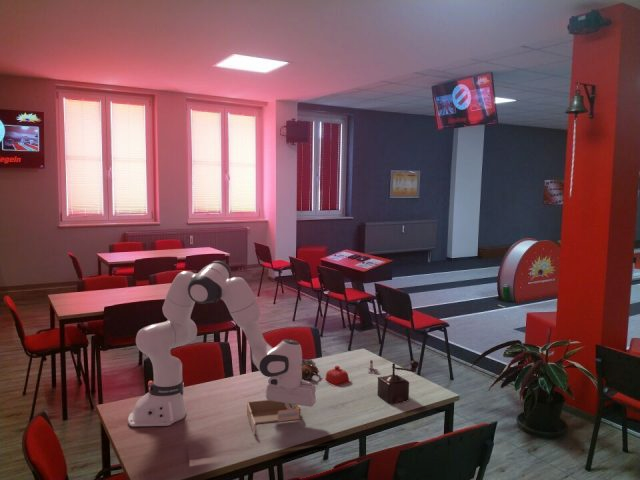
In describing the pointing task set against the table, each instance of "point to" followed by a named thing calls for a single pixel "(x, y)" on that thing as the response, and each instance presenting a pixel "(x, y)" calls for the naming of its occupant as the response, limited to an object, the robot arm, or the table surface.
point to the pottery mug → (310, 370)
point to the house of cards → (371, 368)
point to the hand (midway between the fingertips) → (290, 413)
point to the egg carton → (308, 362)
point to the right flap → (289, 414)
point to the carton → (266, 410)
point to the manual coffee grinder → (395, 386)
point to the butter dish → (337, 377)
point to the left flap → (252, 422)
